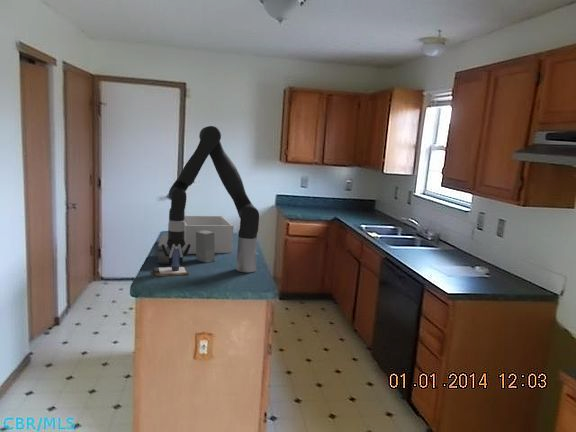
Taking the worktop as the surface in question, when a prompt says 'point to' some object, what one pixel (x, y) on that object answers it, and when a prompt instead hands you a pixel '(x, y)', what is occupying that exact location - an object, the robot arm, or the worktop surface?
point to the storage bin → (212, 224)
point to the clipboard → (170, 273)
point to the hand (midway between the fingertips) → (175, 264)
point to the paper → (169, 270)
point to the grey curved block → (161, 255)
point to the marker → (175, 259)
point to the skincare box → (205, 246)
